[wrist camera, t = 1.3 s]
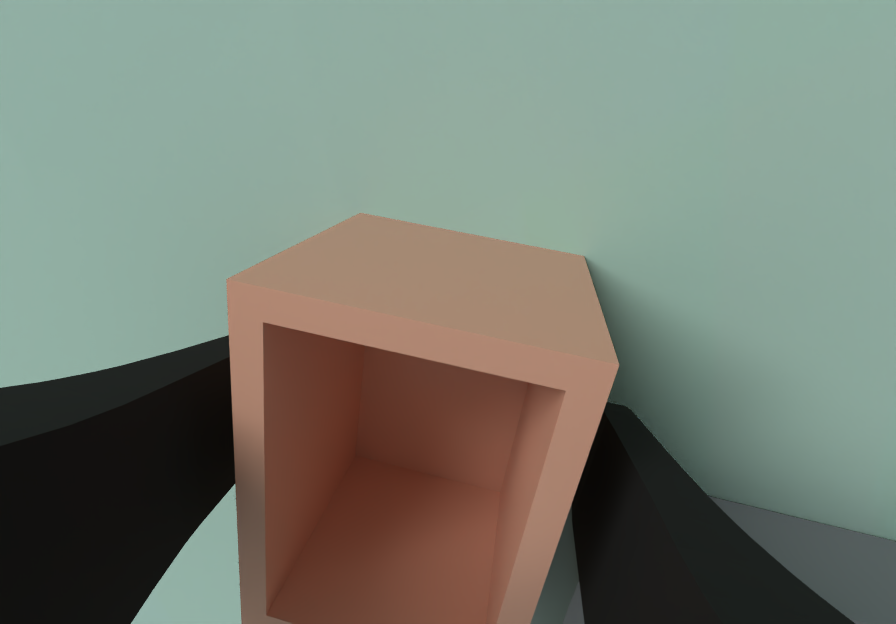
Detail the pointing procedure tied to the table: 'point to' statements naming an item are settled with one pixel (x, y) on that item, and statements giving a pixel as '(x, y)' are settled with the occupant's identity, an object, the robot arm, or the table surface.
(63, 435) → the robot arm
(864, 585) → the big crate
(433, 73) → the table surface
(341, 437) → the small crate
